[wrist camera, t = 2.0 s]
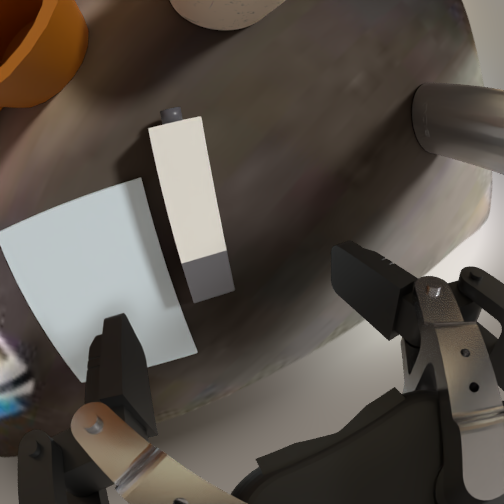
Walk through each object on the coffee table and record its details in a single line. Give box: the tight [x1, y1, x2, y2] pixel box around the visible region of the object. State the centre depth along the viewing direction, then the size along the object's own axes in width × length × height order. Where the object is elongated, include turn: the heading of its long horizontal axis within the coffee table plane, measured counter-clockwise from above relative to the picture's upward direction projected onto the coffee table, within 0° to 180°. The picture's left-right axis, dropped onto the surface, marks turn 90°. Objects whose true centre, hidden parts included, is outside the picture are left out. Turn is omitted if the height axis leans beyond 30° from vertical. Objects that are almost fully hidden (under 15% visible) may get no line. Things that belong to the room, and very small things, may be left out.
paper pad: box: [0, 177, 198, 383], centre depth 22 cm, size 14×18×1 cm
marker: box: [148, 107, 235, 303], centre depth 20 cm, size 14×3×3 cm, turn 9°
